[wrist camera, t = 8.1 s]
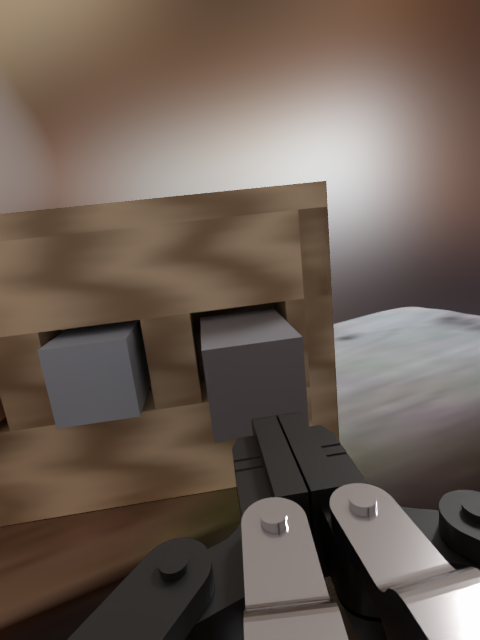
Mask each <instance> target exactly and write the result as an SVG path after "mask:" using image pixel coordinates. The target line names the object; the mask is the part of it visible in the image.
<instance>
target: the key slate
mask: <svg viewBox="0 0 480 640" xmlns="http://www.w3.org/2000/svg"><path fill="white" fill-rule="evenodd" d="M37 351H38V355H39V359H40V363H41V367H42V371H43V375H44V380H45V384H46V388H47V392H48V396H49V400H50V404H51V408H52V412H53V416H54V420H55V425H56V429H59V428H66V427H73V426H79V425H86V424H93V423H100V422H106V421H113V420H120V419H127V418H133V417H140V416H141V413H142V410H143V406H144V403H145V400H146V397H147V394H148V390H149V387H150V384H151V380H150V375H149V369H148V363H147V357H146V352H145V346H144V340H143V334H142V329H141V323H140V320H133V321H125V322H117V323H109V324H101V325H93V326H85V327H78V328H70V329H66V330H65V331H63V332H62V333H60V334H59V335H58V336H56V337H55V338H54V339H52V340H51V341H49V342H48V343H47V344H45V345H44V346H43V347H41V348H40V349H38V350H37Z"/></svg>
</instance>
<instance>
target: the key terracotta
mask: <svg viewBox="0 0 480 640" xmlns="http://www.w3.org/2000/svg"><path fill="white" fill-rule="evenodd" d="M5 417H6V415H5V411H4V408H3V404H2V401H1V397H0V421H1V420H3V419H4V418H5Z"/></svg>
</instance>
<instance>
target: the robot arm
mask: <svg viewBox="0 0 480 640" xmlns="http://www.w3.org/2000/svg"><path fill="white" fill-rule="evenodd" d="M252 432H253V436H247V437H240V438H237V440H236V442H235V444H234V446H233V448H232V454H233V462H234V470H235V478H236V486H237V494H238V500H239V507H240V513H241V521H240V524H239V525H238V527H237V529H236V530H235V531H234V533H233V534H231V535H230V536H229V537H228V538H227V539H225V540H224V541H222V542H220V543H219V544H216V545H214V546H212V547H210V548H208V549H207V548H206V546H205V545H204V544H202V543H201V542H199V541H198V540H195V539H191V538H177V539H172V540H169V541H167V542H164V543H162V544H160V545H159V546H157V547H156V548H154V549H153V550H152V551H151V552H150V553H149V554H148V555H147V556H146V557H145V558H144V559H143V560H142V561H141V562H140V563H139V564H138V565H137V566H136V567H135V568H134V569H133V571H132V572H131V573H130V574H129V575H128V576H127V577H126V578H125V579H124V580H123V581H122V582H121V583H120V584H119V585H118V586H117V587H116V588H115V590H114V591H113V592H112V593H111V594H110V595H109V596H108V597H107V598H106V599H105V600H104V601H103V602H102V603H101V604H100V605H99V606H98V607H97V609H96V610H95V611H94V612H93V613H92V614H91V615H90V616H89V617H88V618H87V619H86V620H85V621H84V622H83V623H82V624H81V625H80V626H79V628H78V629H77V630H76V631H75V632H74V633H73V634H72V635H71V636H70V637H69V638H68V639H67V640H348V637H349V639H350V640H480V492H477V491H472V490H455V491H451V492H448V493H446V494H445V495H443V496H442V498H441V499H440V501H439V510H428V509H415V508H406V507H402V506H399V505H398V504H397V503H396V501H395V500H394V499H393V498H392V497H391V496H390V495H389V494H388V493H387V492H385V491H384V490H382V489H380V488H378V487H375V486H372V485H369V484H368V483H367V482H366V480H365V479H364V477H363V476H362V474H361V473H360V471H359V470H358V468H357V467H356V465H355V464H354V462H353V461H352V460H351V458H350V457H349V455H348V454H347V453H346V451H345V449H344V448H343V446H342V445H341V444H340V442H339V440H338V439H337V438H336V436H335V435H334V433H333V432H331V431H330V430H328V429H326V428H325V427H323V426H321V425H316V426H310V427H309V425H308V423H307V422H306V420H305V418H304V416H303V415H302V413H301V412H300V411H299V412H292V413H286V414H279V415H276V416H275V415H273V416H266V417H260V418H253V419H252ZM328 576H330V577H331V580H332V582H333V585H334V587H335V600H334V599H332V600H330V598H329V595H328V591H327V588H326V584H325V580H324V577H328ZM346 632H347V633H346ZM347 634H348V636H347Z"/></svg>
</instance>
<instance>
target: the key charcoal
mask: <svg viewBox="0 0 480 640" xmlns="http://www.w3.org/2000/svg"><path fill="white" fill-rule="evenodd" d="M200 324H201V351H202V358H203V365H204V373H205V380H206V387H207V395H208V402H209V409H210V416H211V424H212V431H213V438H214V443H218V442H225V441H231V440H237V438H240V437H247V436H253V432H252V419H253V418H260V417H266V416H273V415H275V416H276V415H279V414H286V413H292V412H299V411H300V412H301V413H302V415H303V416H304V418H305V420H306V422H307V423H308V425H309V419H308V405H307V391H306V377H305V363H304V348H303V337H302V336H301V335H300V334H299V333H298V332H297V331H296V330H295V329H294V328H293V327H292V326H291V325H290V324H289V323H288V322H287V321H286V320H285V319H284V318H283V317H282V316H281V315H280V314H279V313H278V312H277V311H276V310H275V309H274V308H269V309H261V310H253V311H246V312H238V313H230V314H222V315H214V316H207V317H200Z"/></svg>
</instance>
